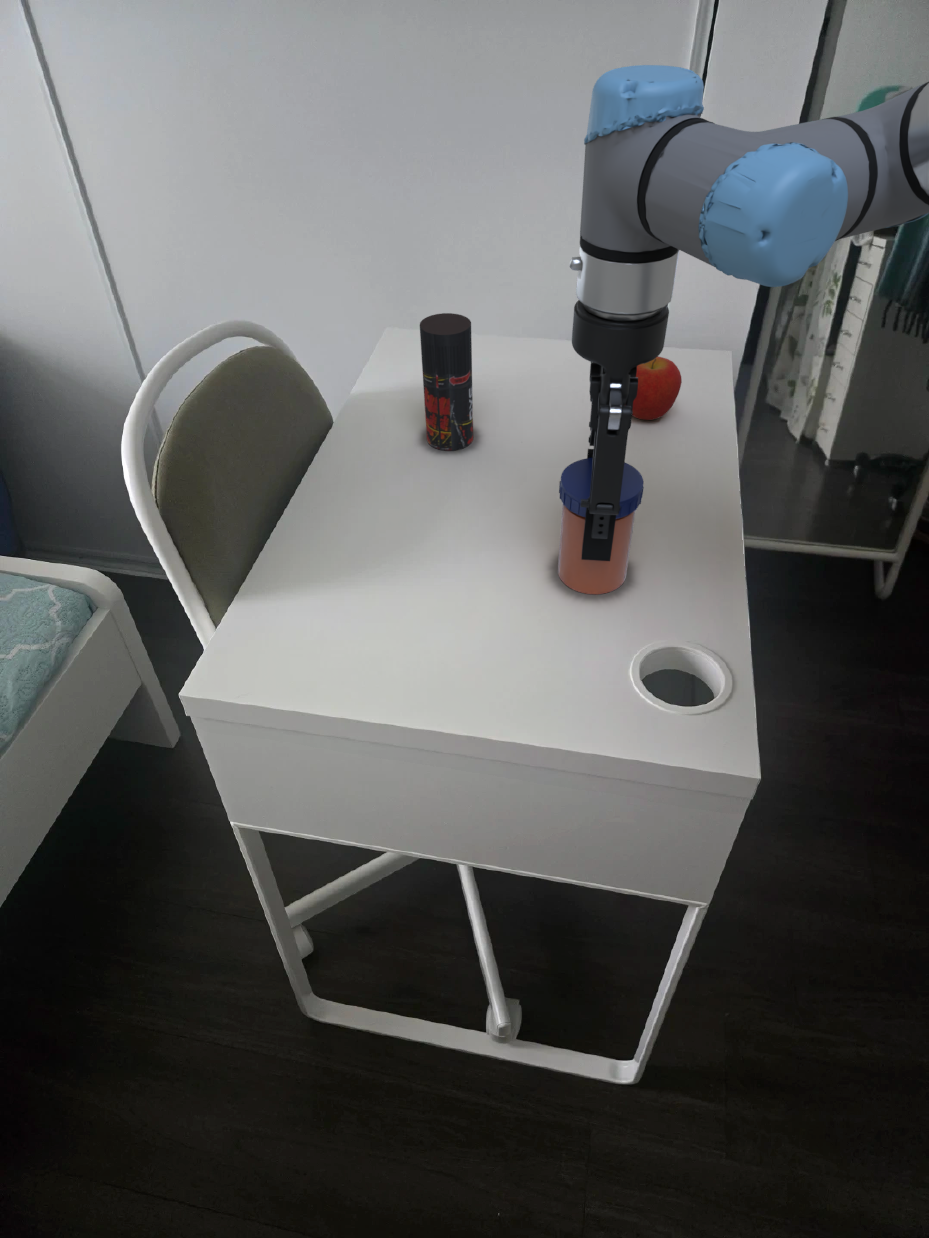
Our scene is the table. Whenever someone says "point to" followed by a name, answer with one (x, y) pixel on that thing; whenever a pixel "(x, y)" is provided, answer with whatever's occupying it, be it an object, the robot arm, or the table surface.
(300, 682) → the table surface
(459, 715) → the table surface
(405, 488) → the table surface
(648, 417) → the apple
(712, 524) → the table surface
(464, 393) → the deodorant
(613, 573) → the jam jar
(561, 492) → the jar lid
